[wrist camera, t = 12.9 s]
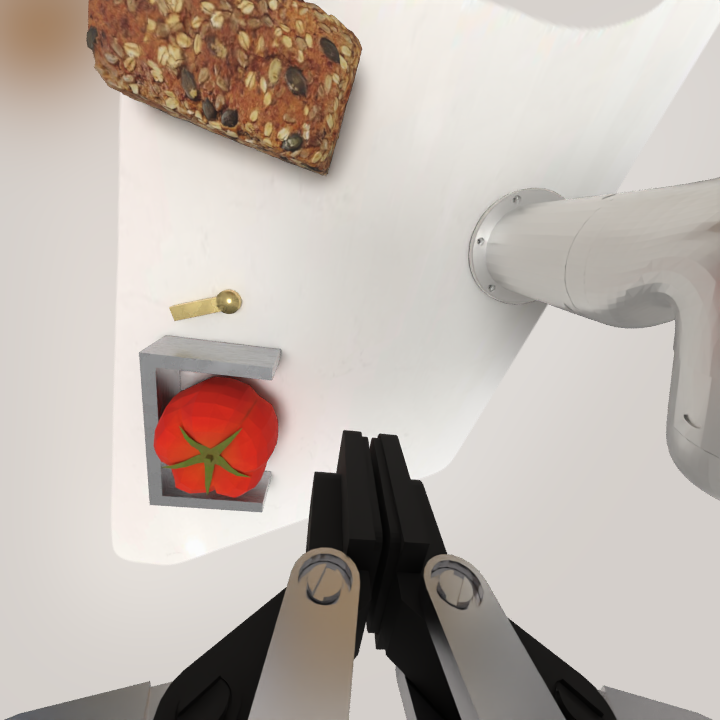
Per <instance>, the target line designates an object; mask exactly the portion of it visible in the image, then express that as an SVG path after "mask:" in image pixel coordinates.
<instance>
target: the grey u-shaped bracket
mask: <svg viewBox="0 0 720 720" xmlns="http://www.w3.org/2000/svg"><path fill="white" fill-rule="evenodd" d="M280 353H281V349H273V348H265V347H257V346H249V345H241V344H232V343H224V342H216V341H208V340H200V339H191V338H183V337H175V336H167V335H166V336H164V337H162V338H161V339H159V340H158V341H156V342H155V343H153V344H151V345H150V346H148V347H147V348H145V349H144V350H142V351H140V352H139V357H140V371H141V385H142V400H143V414H144V428H145V443H146V457H147V471H148V485H149V500H150V505H161V506H176V507H191V508H206V509H221V510H236V511H251V512H262V511H263V507H264V503H265V499H266V495H267V491H268V487H269V483H270V478H271V472H270V471H264V473H263V476H262V478H261V480H260V481H259V483H258V484H257V485H256V487H254V488H253V489H251V490H249V491H248V492H246V493H244V494H242V495H240V496H238V497H236V498H233V497H229V496H225V495H220V494H217V493H216V490H213V491H211V492H209V493H208V496H207V492H205V493H192V494H190V493H187V492H185V491H183V490H180V489H178V488H176V487H175V479H174V476H173V473H172V470H171V469H170V468H161V467H164V466H169V465H167V464H165V463H163V462H161V461H160V459H159V457H158V456H157V454H156V452H155V449H154V435H155V429H156V427H157V424H158V421H159V419H160V418H161V416H162V414H163V412H164V410H165V408H166V406H167V405H168V403H169V402H170V401H171V399H172V398H173V397H174V396H175V395H177V394H178V393H179V392H180V370H183V371H192V372H201V373H210V374H219V375H228V376H237V377H246V378H255V379H264V380H272V379H273V376H274V374H275V371H276V369H277V367H278V364H279V362H280Z"/></svg>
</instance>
